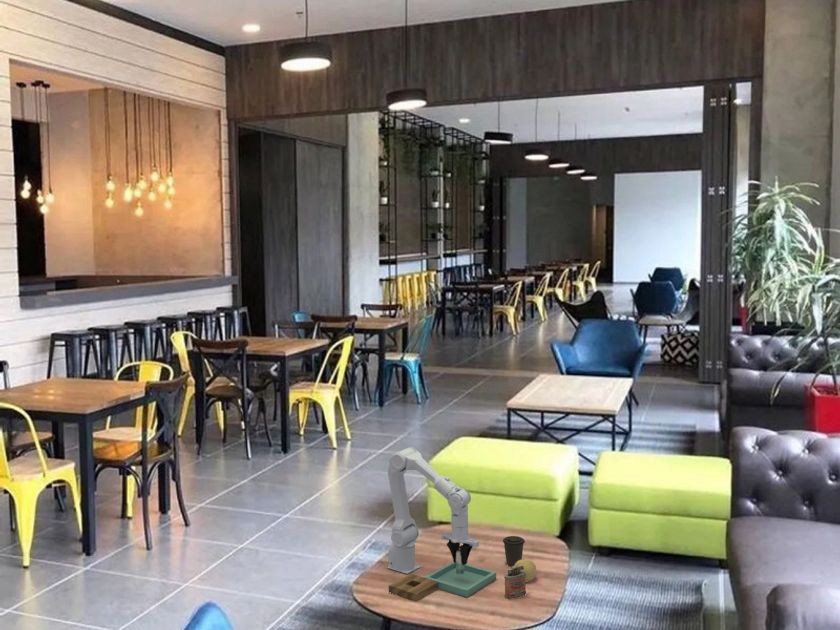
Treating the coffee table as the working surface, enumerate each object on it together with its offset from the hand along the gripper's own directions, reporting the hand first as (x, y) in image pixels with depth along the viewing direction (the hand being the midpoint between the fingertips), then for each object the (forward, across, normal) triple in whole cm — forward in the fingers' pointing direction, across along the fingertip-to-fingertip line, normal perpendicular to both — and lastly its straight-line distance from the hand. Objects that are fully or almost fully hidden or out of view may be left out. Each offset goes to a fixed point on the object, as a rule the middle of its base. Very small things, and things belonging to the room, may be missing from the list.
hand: (460, 562), depth 285 cm
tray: (+7, 0, 0) cm, 7 cm away
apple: (+7, +17, +15) cm, 24 cm away
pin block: (+7, -9, -15) cm, 19 cm away
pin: (+3, 0, 0) cm, 3 cm away
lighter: (+7, +21, +2) cm, 22 cm away
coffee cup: (+7, +7, +24) cm, 26 cm away
